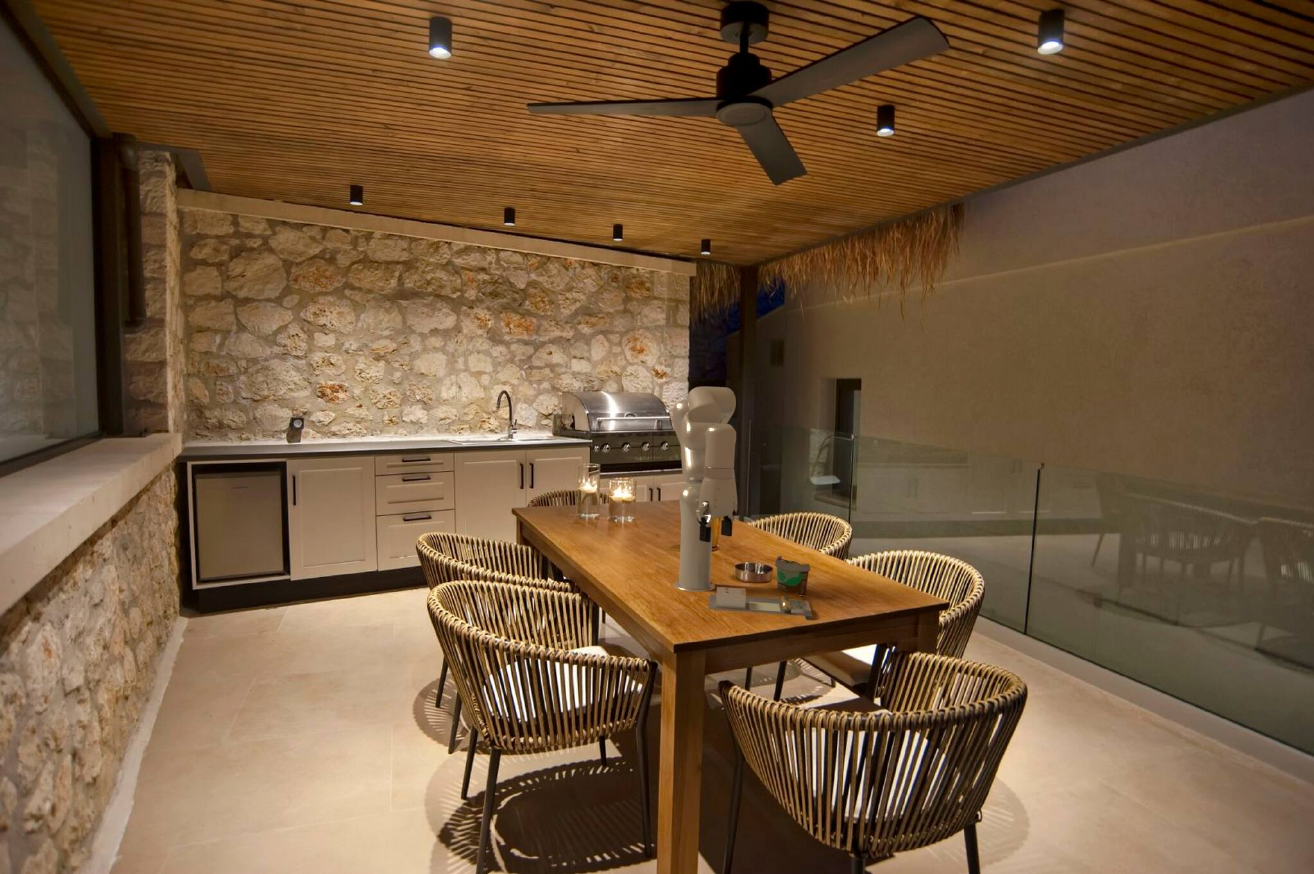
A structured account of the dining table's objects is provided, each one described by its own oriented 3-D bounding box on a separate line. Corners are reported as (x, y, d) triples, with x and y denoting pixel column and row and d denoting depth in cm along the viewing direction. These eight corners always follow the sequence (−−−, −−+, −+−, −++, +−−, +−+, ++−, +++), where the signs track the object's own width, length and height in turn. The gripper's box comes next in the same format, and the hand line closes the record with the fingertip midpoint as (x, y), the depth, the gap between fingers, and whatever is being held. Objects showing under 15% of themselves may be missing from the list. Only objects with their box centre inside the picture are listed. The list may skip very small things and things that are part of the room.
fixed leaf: (780, 603, 201) (780, 594, 200) (807, 605, 200) (808, 596, 200) (782, 613, 191) (782, 605, 191) (811, 615, 190) (811, 607, 190)
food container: (764, 589, 217) (766, 557, 217) (778, 586, 221) (780, 555, 220) (795, 600, 208) (797, 566, 207) (809, 596, 211) (810, 564, 211)
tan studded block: (716, 600, 201) (717, 586, 200) (744, 602, 200) (745, 588, 199) (715, 607, 195) (716, 592, 194) (745, 609, 194) (745, 594, 194)
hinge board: (709, 597, 207) (710, 593, 207) (806, 604, 204) (807, 600, 204) (708, 612, 193) (708, 608, 193) (812, 619, 190) (812, 615, 190)
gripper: (725, 469, 192) (722, 531, 193) (687, 474, 179) (684, 541, 180) (749, 472, 187) (745, 536, 189) (711, 478, 174) (708, 546, 175)
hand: (715, 538), depth 184 cm, fingers open, 9 cm apart
